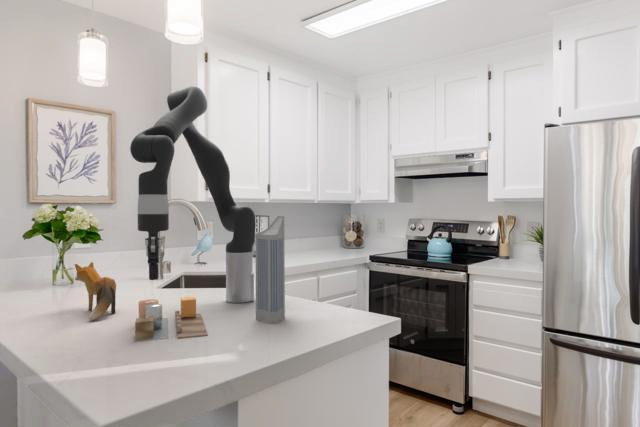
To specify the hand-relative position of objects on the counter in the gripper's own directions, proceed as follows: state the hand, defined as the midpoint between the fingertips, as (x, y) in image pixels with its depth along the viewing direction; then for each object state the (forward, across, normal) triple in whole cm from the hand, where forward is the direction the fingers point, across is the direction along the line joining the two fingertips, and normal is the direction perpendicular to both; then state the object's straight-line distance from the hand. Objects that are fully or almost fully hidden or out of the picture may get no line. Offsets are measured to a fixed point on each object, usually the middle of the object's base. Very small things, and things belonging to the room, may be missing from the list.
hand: (153, 279), depth 113 cm
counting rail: (+14, 0, -9) cm, 17 cm away
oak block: (+13, -6, +2) cm, 14 cm away
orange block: (+12, +9, -9) cm, 18 cm away
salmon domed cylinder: (+13, +6, +2) cm, 14 cm away
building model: (+14, +3, -32) cm, 35 cm away
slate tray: (+14, 0, 0) cm, 14 cm away
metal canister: (+13, 0, 0) cm, 13 cm away
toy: (+14, +28, +18) cm, 36 cm away
